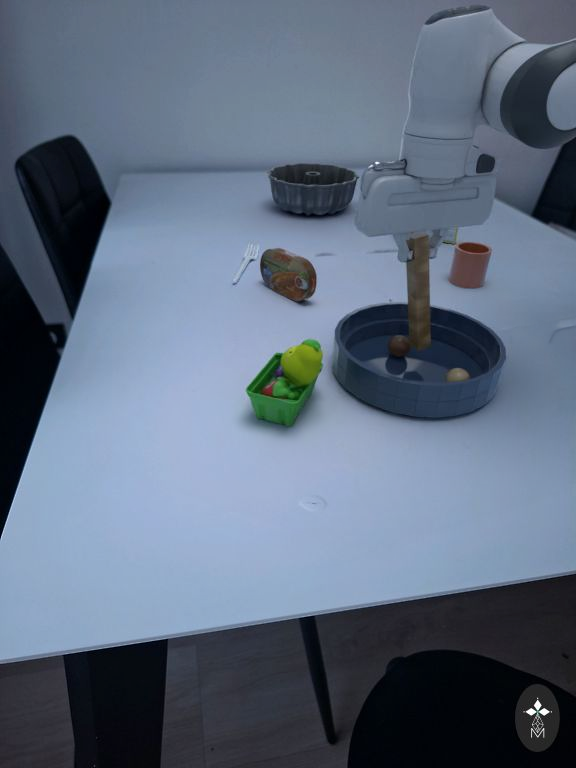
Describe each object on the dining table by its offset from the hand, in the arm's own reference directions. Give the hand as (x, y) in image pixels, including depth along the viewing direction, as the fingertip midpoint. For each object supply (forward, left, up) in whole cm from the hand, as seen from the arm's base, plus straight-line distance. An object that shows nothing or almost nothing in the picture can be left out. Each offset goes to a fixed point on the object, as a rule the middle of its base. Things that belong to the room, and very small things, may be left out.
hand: (416, 259), depth 77 cm
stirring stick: (-2, +1, -14) cm, 14 cm away
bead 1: (0, -1, -15) cm, 15 cm away
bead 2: (-3, +11, -15) cm, 19 cm away
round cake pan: (-1, +3, -18) cm, 18 cm away
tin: (+7, -31, -18) cm, 36 cm away
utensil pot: (-31, -23, -18) cm, 42 cm away
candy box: (-39, -51, -18) cm, 66 cm away
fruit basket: (+21, +5, -18) cm, 28 cm away
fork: (+11, -47, -18) cm, 52 cm away
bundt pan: (-22, -85, -18) cm, 89 cm away
